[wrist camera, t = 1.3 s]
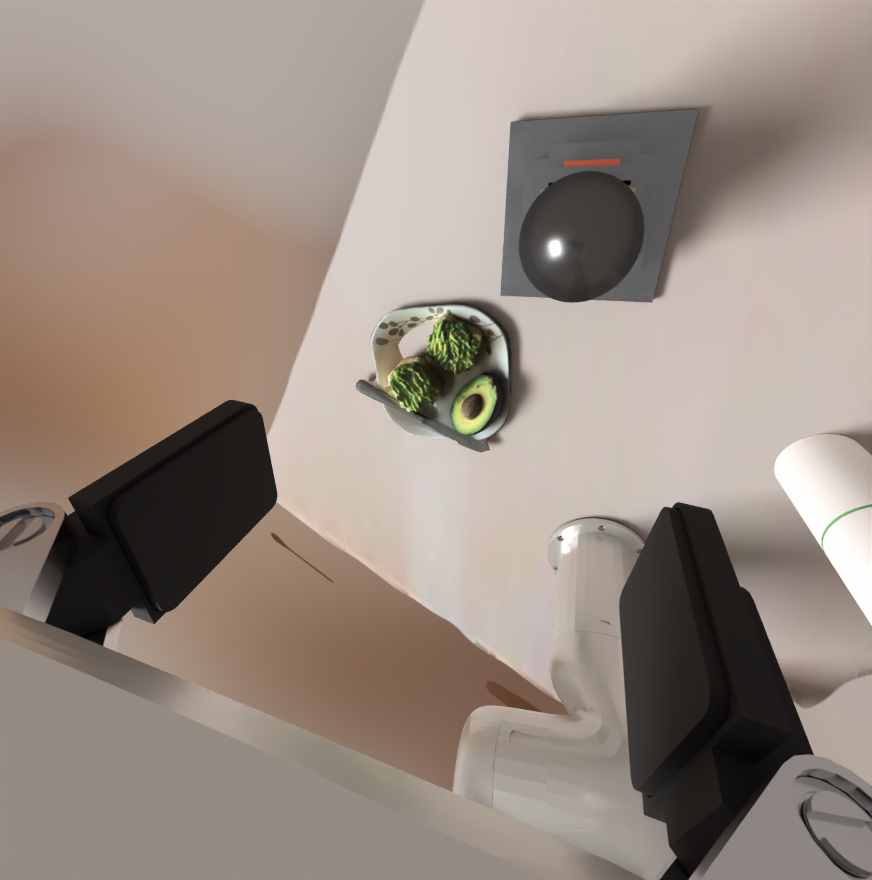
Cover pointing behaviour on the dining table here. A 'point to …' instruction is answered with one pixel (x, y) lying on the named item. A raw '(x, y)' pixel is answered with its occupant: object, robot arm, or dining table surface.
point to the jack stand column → (581, 236)
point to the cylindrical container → (834, 504)
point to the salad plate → (443, 374)
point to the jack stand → (609, 151)
